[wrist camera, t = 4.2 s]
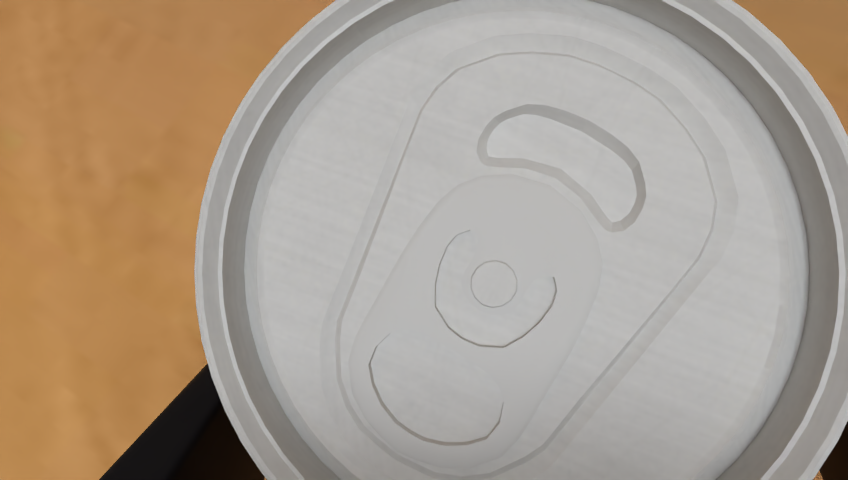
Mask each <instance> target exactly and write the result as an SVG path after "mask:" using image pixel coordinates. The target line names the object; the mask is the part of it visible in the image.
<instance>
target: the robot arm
mask: <svg viewBox="0 0 848 480" xmlns="http://www.w3.org/2000/svg"><path fill="white" fill-rule="evenodd" d="M820 473H821V475H822V478H823V480H848V421H847V423H846V425H845V427H844V430H843V432H842V434H841V436H840V438H839V440H838V442H837V443H836V445H835V447H834V448H833V450H832V451H831V453H830V454H829V456H828V457H827V459H826V460H825V462H824V463H823V465H822V466H821V468H820ZM264 477H265V476H264V475H263V474H262V473H261V471H260V470H259V468H258V467H257V465H256V464H255V462H254V461H253V459H252V458H251V456H250V455H249V453H248V452H247V450H246V449H245V447H244V446H243V444H242V443H241V441H240V439H239V437H238V435H237V433H236V431H235V429H234V427H233V425H232V424H231V422H230V420H229V418H228V416H227V414H226V412H225V410H224V407H223V405H222V402H221V400H220V397H219V395H218V392H217V390H216V387H215V385H214V382H213V379H212V377H211V373H210V370H209V366H208V364H207V365H206V366H205V367H204V368H203V369H202V370H201V371H200V372H199V373H198V374H197V375H196V376H195V378H194V379H193V380H192V381H191V382H190V383H189V384H188V385H187V386H186V387H185V388H184V389H183V390H182V391H181V392H180V394H179V395H178V396H177V397H176V398H175V399H174V400H173V401H172V402H171V403H170V404H169V405H168V406H167V407H166V409H165V410H164V411H163V412H162V413H161V414H160V415H159V416H158V417H157V418H156V419H155V420H154V421H153V422H152V424H151V425H150V426H149V427H148V428H147V429H146V430H145V431H144V432H143V433H142V434H141V435H140V436H139V437H138V439H137V440H136V441H135V442H134V443H133V444H132V445H131V446H130V447H129V448H128V449H127V450H126V451H125V452H124V454H123V455H122V456H121V457H120V458H119V459H118V460H117V461H116V462H115V463H114V464H113V465H112V466H111V467H110V469H109V470H108V471H107V472H106V473H105V474H104V475H103V476H102V477H101V478H100V479H99V480H264Z"/></svg>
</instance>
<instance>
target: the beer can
mask: <svg viewBox="0 0 848 480" xmlns="http://www.w3.org/2000/svg"><path fill="white" fill-rule="evenodd" d="M194 273H195V291H196V308H197V314H198V320H199V327H200V333H201V339H202V344H203V348H204V351H205V355H206V359H207V362H208V366H209V370H210V373H211V377H212V379H213V382H214V385H215V387H216V390H217V392H218V395H219V397H220V400H221V402H222V405H223V407H224V410H225V412H226V414H227V416H228V418H229V420H230V422H231V424H232V425H233V427H234V429H235V431H236V433H237V435H238V437H239V439H240V441H241V443H242V444H243V446H244V447H245V449H246V450H247V452H248V453H249V455H250V456H251V458H252V459H253V461H254V462H255V464H256V465H257V467H258V468H259V470H260V471H261V473H262V474H263V475H264V476H265V478H266V479H267V480H813V478H814V477H815V476H816V474H817V473H818V471H819V470H820V468H821V466H822V465H823V463H824V462H825V460H826V459H827V457H828V456H829V454H830V453H831V451H832V450H833V448H834V447H835V445H836V443H837V442H838V440H839V438H840V436H841V434H842V432H843V430H844V427H845V425H846V423H847V421H848V136H847V134H846V132H845V130H844V128H843V126H842V124H841V122H840V120H839V118H838V116H837V115H836V113H835V111H834V109H833V107H832V105H831V104H830V103H829V101H828V100H827V98H826V97H825V95H824V94H823V92H822V91H821V89H820V88H819V86H818V85H817V84H816V82H815V81H814V79H813V78H812V76H811V75H810V73H809V72H808V71H807V70H806V68H805V67H804V66H803V65H802V64H801V63H800V62H799V61H798V59H797V58H796V57H795V56H794V55H793V54H792V53H791V51H790V50H789V49H788V48H787V47H786V46H785V45H784V44H783V42H782V41H781V40H780V39H779V38H778V37H776V36H775V35H774V34H773V33H772V32H771V31H770V30H769V29H767V28H766V27H765V26H764V25H763V24H762V23H761V22H759V21H758V20H757V19H756V18H755V17H754V16H753V15H751V14H750V13H749V12H748V11H747V10H745V9H744V8H742V7H741V6H739V5H738V4H736V3H735V2H733V1H732V0H336V1H334V2H333V3H332V4H330V5H329V6H328V7H327V8H325V9H324V10H323V11H321V12H320V13H319V14H318V15H316V16H315V17H314V18H312V19H311V20H310V21H309V22H308V23H307V24H306V25H304V26H303V27H302V28H301V29H300V30H299V31H298V32H297V33H296V34H295V35H294V36H293V37H292V38H291V39H290V40H289V41H288V42H287V43H286V44H285V45H284V46H283V47H282V48H281V49H280V50H279V52H278V53H277V54H276V55H275V57H274V58H273V59H272V60H271V61H270V63H269V64H268V65H267V66H266V67H265V69H264V70H263V71H262V72H261V73H260V75H259V76H258V78H257V79H256V81H255V82H254V84H253V85H252V87H251V88H250V90H249V91H248V93H247V94H246V96H245V97H244V99H243V100H242V102H241V103H240V105H239V107H238V109H237V111H236V113H235V115H234V117H233V119H232V121H231V122H230V124H229V126H228V128H227V130H226V132H225V134H224V136H223V139H222V141H221V144H220V146H219V149H218V152H217V154H216V157H215V159H214V162H213V165H212V167H211V170H210V174H209V177H208V181H207V185H206V189H205V192H204V196H203V200H202V204H201V210H200V217H199V223H198V229H197V236H196V252H195V272H194Z"/></svg>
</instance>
